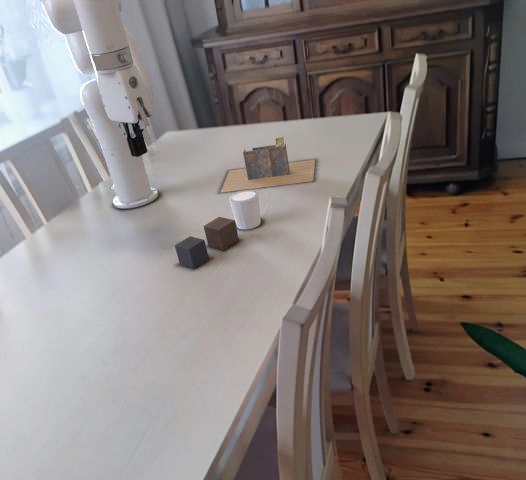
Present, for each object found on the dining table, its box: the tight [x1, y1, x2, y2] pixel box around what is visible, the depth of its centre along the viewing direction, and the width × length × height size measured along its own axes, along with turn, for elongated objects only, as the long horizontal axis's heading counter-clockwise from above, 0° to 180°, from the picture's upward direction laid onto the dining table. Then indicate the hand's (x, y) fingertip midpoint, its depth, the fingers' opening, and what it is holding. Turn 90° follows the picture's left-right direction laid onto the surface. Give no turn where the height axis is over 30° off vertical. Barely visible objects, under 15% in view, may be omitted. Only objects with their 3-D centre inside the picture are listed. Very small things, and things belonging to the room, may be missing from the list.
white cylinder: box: [228, 189, 262, 230], centre depth 131 cm, size 7×7×7 cm
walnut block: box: [203, 216, 240, 251], centre depth 126 cm, size 5×5×5 cm
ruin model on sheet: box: [220, 135, 316, 193], centre depth 154 cm, size 25×16×10 cm, turn 84°
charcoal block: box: [174, 235, 210, 270], centre depth 121 cm, size 5×5×5 cm
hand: (139, 154), depth 121 cm, fingers closed
